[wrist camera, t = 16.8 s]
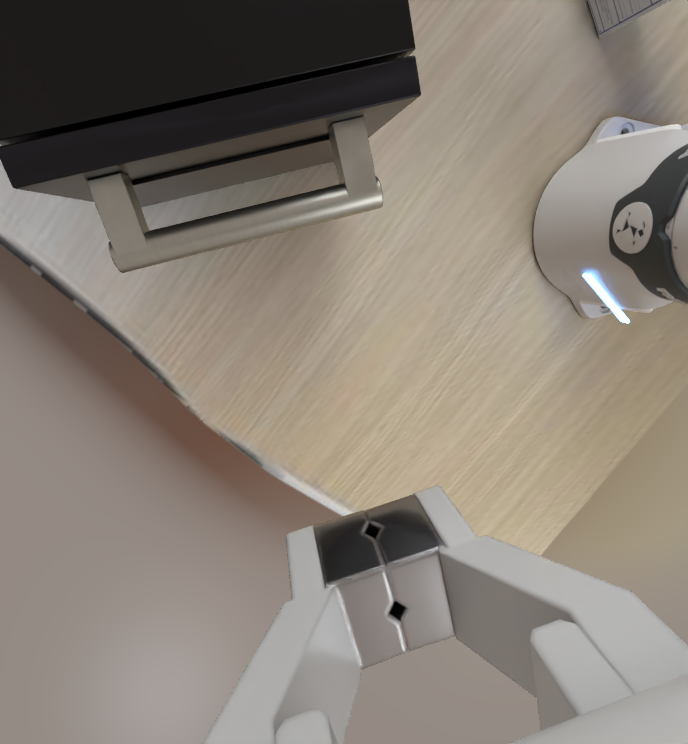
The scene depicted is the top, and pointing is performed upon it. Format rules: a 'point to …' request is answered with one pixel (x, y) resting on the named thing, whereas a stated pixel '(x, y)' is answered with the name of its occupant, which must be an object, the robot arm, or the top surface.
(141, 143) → the oven door
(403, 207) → the top surface
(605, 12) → the medicine box
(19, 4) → the oven
